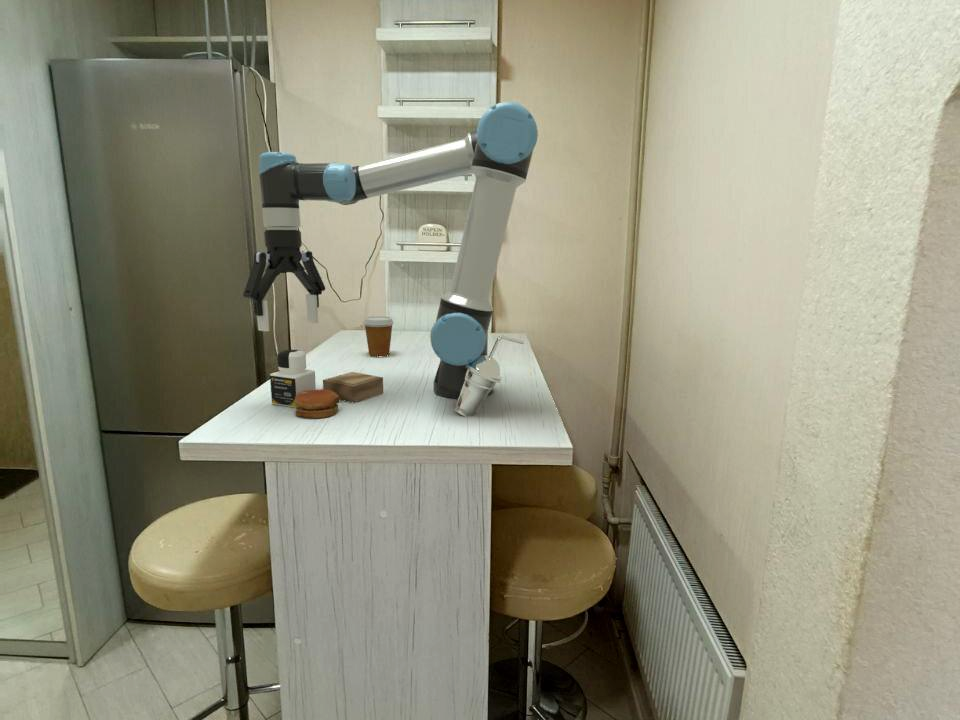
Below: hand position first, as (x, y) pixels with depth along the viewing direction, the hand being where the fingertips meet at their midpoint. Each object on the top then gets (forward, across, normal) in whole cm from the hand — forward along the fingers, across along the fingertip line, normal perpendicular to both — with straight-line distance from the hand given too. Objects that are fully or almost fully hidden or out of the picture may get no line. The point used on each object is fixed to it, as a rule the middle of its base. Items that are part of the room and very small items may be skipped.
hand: (289, 326), depth 125 cm
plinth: (+18, -12, +7) cm, 22 cm away
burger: (+18, +2, +10) cm, 21 cm away
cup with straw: (+18, -15, +37) cm, 44 cm away
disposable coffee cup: (+18, -50, -18) cm, 56 cm away
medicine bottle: (+18, 0, 0) cm, 18 cm away
